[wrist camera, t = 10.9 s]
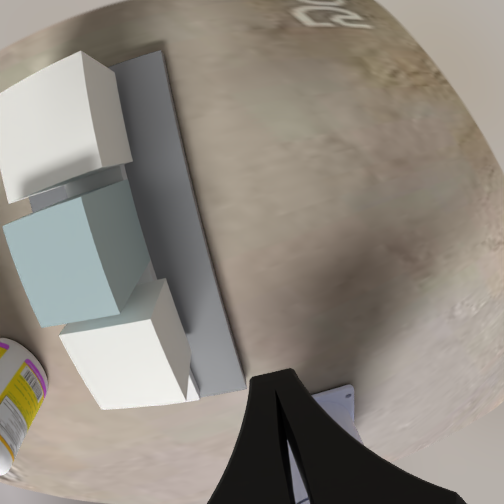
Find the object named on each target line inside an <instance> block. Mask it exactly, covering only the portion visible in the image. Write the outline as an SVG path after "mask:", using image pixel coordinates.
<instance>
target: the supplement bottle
mask: <svg viewBox="0 0 504 504" xmlns="http://www.w3.org/2000/svg"><path fill="white" fill-rule="evenodd" d="M47 390H48V381H47V377H46V374H45V372H44V369H43V368H42V366H41V364H40V363H39V361H38V360H37V359H36V358H35V357H34V355H33V354H32V353H31V352H29V351H28V350H27V349H26V348H25V347H23V346H22V345H21V344H19V343H17V342H15V341H13V340H11V339H7V338H0V475H4V474H6V473H7V472H8V471H9V470H10V468H11V466H12V464H13V461H14V459H15V457H16V455H17V452H18V450H19V448H20V446H21V444H22V442H23V440H24V438H25V435H26V434H27V432H28V429H29V427H30V425H31V423H32V421H33V419H34V418H35V416H36V414H37V412H38V410H39V408H40V406H41V404H42V402H43V400H44V398H45V396H46V394H47Z"/></svg>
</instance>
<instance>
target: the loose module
mask: <svg viewBox="0 0 504 504" xmlns="http://www.w3.org/2000/svg"><path fill="white" fill-rule="evenodd" d="M2 227H3V231H4V234H5V237H6V240H7V243H8V246H9V249H10V252H11V255H12V258H13V261H14V264H15V266H16V269H17V272H18V274H19V277H20V280H21V282H22V285H23V287H24V289H25V292H26V294H27V297H28V299H29V301H30V304H31V306H32V308H33V310H34V313H35V315H36V317H37V319H38V321H39V323H40V325H41V328H43V327H49V326H55V325H61V324H67V323H73V322H79V321H84V320H90V319H96V318H101V317H107V316H112V315H118V314H120V313H121V312H122V310H123V308H124V306H125V304H126V302H127V301H128V299H129V297H130V295H131V293H132V291H133V290H134V288H135V286H136V284H137V283H138V281H139V279H140V277H141V276H142V274H143V272H144V270H145V269H146V267H147V265H148V263H149V262H150V257H149V253H148V250H147V247H146V243H145V240H144V237H143V233H142V230H141V226H140V223H139V219H138V215H137V212H136V208H135V204H134V201H133V197H132V193H131V189H130V185H129V181H128V179H126V180H122V181H119V182H116V183H113V184H109V185H106V186H103V187H100V188H97V189H94V190H91V191H88V192H85V193H82V194H79V195H76V196H73V197H70V198H67V199H64V200H62V201H59V202H57V203H54V204H52V205H49V206H47V207H45V208H42V209H40V210H37V211H35V212H33V213H30V214H28V215H26V216H24V217H21V218H19V219H17V220H15V221H13V222H10V223H8V224H6V225H4V226H2Z"/></svg>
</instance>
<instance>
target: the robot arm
mask: <svg viewBox="0 0 504 504" xmlns="http://www.w3.org/2000/svg"><path fill="white" fill-rule="evenodd" d="M347 394H348V395H347ZM207 504H466V502H465V501H464V500H463V499H462V498H461V497H460V496H459V495H458V494H457V493H456V492H454V491H450V490H448V489H445V488H442V487H439V486H437V485H434V484H432V483H429V482H427V481H424V480H422V479H420V478H418V477H416V476H414V475H412V474H409V473H407V472H405V471H404V470H402V469H400V468H398V467H397V466H395V465H393V464H391V463H390V462H388V461H386V460H385V459H383V458H381V457H380V456H378V455H377V454H375V453H374V452H372V451H371V450H369V449H368V448H367V447H365V446H364V444H363V442H362V440H361V438H360V436H359V433H358V431H357V429H356V427H355V425H354V388H353V386H352V385H345V386H342V387H338V388H335V389H332V390H328V391H325V392H321V393H318V394H314V395H311V394H310V393H309V392H308V391H307V389H306V388H305V387H304V385H303V384H302V382H301V381H300V379H299V378H298V376H297V374H296V373H295V371H294V370H293V369H291V368H289V369H284V370H280V371H276V372H272V373H267V374H263V375H258V376H254V377H252V378H251V379H250V385H249V395H248V401H247V406H246V410H245V414H244V418H243V422H242V426H241V429H240V433H239V436H238V438H237V441H236V444H235V447H234V450H233V453H232V455H231V458H230V460H229V462H228V465H227V467H226V469H225V471H224V473H223V475H222V477H221V479H220V481H219V483H218V485H217V487H216V489H215V491H214V492H213V494H212V496H211V498H210V499H209V501H208V503H207Z"/></svg>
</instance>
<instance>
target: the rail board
mask: <svg viewBox="0 0 504 504" xmlns="http://www.w3.org/2000/svg"><path fill="white" fill-rule="evenodd" d="M0 169H1V174H2V178H3V183H4V187H5V191H6V195H7V199H8V203H9V204H10V203H13V202H16V201H19V200H22V199H25V198H27V197H29V200H30V204H31V208H32V211H33V212H35V211H37V210H40V209H42V208H45V207H47V206H49V205H52V204H54V203H57V202H59V201H62V200H64V199H67V198H70V197H73V196H76V195H79V194H82V193H85V192H88V191H91V190H94V189H97V188H100V187H103V186H106V185H109V184H113V183H116V182H119V181H122V180H126V179H128V181H129V185H130V189H131V193H132V197H133V201H134V204H135V208H136V212H137V215H138V219H139V223H140V226H141V230H142V233H143V237H144V240H145V243H146V247H147V250H148V253H149V257H150V262H149V263H148V265H147V267H146V269H145V270H144V272H143V274H142V276H141V277H140V279H139V281H138V283H137V284H136V286H135V288H134V290H133V291H132V293H131V295H130V297H129V299H128V301H127V302H126V304H125V306H124V308H123V310H122V312H121V313H120V314H118V315H112V316H107V317H101V318H96V319H90V320H84V321H79V322H73V323H67V325H66V326H65V327H64V329H63V330H62V331H61V333H60V334H59V337H60V339H61V341H62V343H63V345H64V346H65V348H66V350H67V352H68V354H69V356H70V358H71V359H72V361H73V363H74V365H75V367H76V368H77V370H78V372H79V374H80V375H81V377H82V379H83V380H84V382H85V384H86V386H87V387H88V389H89V390H90V392H91V394H92V395H93V397H94V398H95V400H96V402H97V403H98V405H99V406H100V408H101V409H102V410H107V409H122V408H134V407H145V406H158V405H167V404H175V403H182V402H190V401H196V400H200V397H206V396H212V395H218V394H224V393H229V392H234V391H239V390H244V389H247V386H246V379H245V376H244V373H243V370H242V366H241V363H240V360H239V356H238V353H237V350H236V346H235V343H234V339H233V336H232V332H231V329H230V326H229V322H228V319H227V315H226V312H225V308H224V304H223V301H222V297H221V294H220V290H219V286H218V283H217V279H216V275H215V272H214V268H213V264H212V261H211V257H210V253H209V249H208V245H207V242H206V238H205V234H204V230H203V226H202V222H201V218H200V214H199V210H198V206H197V202H196V198H195V194H194V190H193V186H192V182H191V177H190V173H189V169H188V165H187V160H186V156H185V152H184V147H183V143H182V139H181V134H180V130H179V125H178V121H177V116H176V111H175V107H174V102H173V97H172V93H171V88H170V83H169V78H168V73H167V68H166V63H165V58H164V54H163V53H162V51H161V50H159V51H156V52H152V53H149V54H146V55H143V56H139V57H136V58H133V59H130V60H127V61H124V62H121V63H119V64H116V65H113V66H110V67H108V68H107V67H106V66H104V65H103V64H101V63H99V62H98V61H96V60H95V59H93V58H92V57H90V56H89V55H87V54H86V53H84V52H82V51H79V52H77V53H75V54H72V55H70V56H68V57H66V58H64V59H62V60H59V61H57V62H55V63H53V64H51V65H49V66H47V67H45V68H43V69H41V70H40V71H38V72H36V73H34V74H32V75H30V76H28V77H27V78H25V79H23V80H21V81H20V82H18V83H16V84H15V85H13V86H11V87H10V88H8V89H6V90H5V91H3V92H1V93H0Z"/></svg>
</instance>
